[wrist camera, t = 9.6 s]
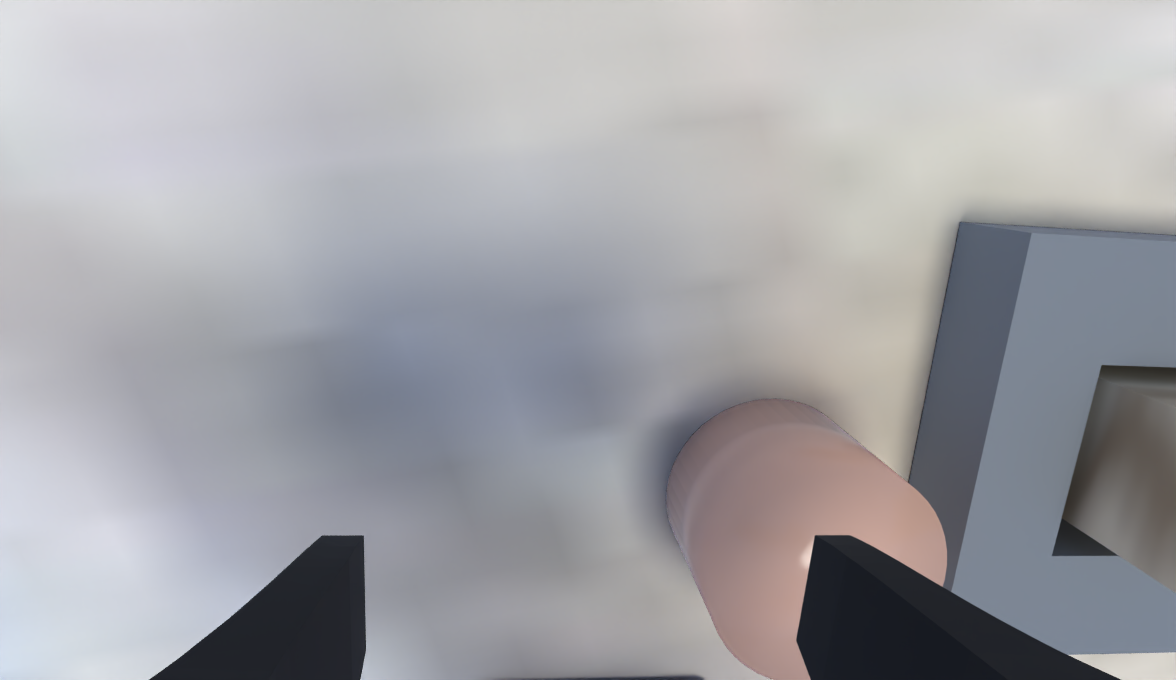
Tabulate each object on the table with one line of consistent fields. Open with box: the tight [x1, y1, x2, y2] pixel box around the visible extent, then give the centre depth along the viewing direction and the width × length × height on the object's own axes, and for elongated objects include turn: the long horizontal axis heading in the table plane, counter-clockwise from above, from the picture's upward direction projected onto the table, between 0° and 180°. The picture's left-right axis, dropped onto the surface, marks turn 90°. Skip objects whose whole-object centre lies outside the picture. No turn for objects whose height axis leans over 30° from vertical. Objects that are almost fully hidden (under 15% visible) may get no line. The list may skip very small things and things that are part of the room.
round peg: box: [666, 399, 947, 680], centre depth 21 cm, size 6×6×5 cm
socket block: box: [909, 222, 1176, 655], centre depth 22 cm, size 13×12×3 cm
